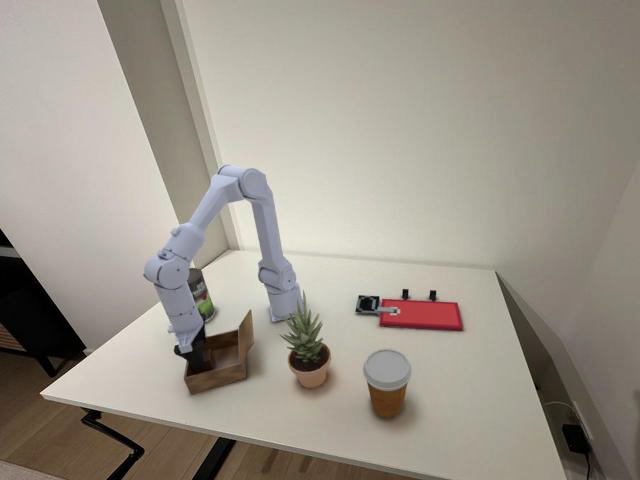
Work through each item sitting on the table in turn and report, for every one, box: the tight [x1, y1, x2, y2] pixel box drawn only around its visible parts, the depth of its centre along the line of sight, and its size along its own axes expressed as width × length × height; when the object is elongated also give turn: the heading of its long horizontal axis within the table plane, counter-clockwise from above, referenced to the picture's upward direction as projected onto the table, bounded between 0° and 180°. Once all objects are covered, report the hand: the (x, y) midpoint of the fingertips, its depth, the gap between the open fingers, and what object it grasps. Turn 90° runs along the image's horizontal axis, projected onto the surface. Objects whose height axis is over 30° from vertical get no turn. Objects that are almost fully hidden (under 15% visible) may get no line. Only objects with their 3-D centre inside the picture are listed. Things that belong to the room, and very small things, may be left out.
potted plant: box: [279, 289, 332, 389], centre depth 68 cm, size 10×10×25 cm
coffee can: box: [187, 267, 216, 324], centre depth 92 cm, size 10×10×14 cm
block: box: [191, 349, 215, 375], centre depth 76 cm, size 4×4×4 cm
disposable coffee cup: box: [362, 348, 413, 419], centre depth 64 cm, size 10×10×12 cm
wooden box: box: [183, 328, 247, 395], centre depth 77 cm, size 12×13×5 cm
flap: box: [238, 309, 255, 362], centre depth 76 cm, size 6×13×1 cm
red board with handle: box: [354, 288, 464, 332], centre depth 93 cm, size 30×3×15 cm
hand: (200, 354), depth 75 cm, fingers open, 7 cm apart
